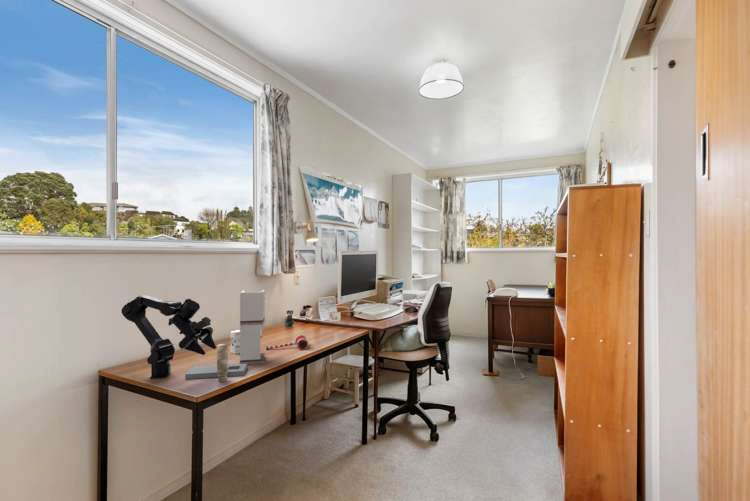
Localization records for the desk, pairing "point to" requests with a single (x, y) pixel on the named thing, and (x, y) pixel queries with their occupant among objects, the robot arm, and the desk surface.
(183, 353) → the desk surface
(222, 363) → the wooden leg
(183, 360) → the desk surface
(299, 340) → the toy hammer
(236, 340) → the ink box
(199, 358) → the desk surface
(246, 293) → the tall grey banded box
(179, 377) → the desk surface
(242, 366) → the board
